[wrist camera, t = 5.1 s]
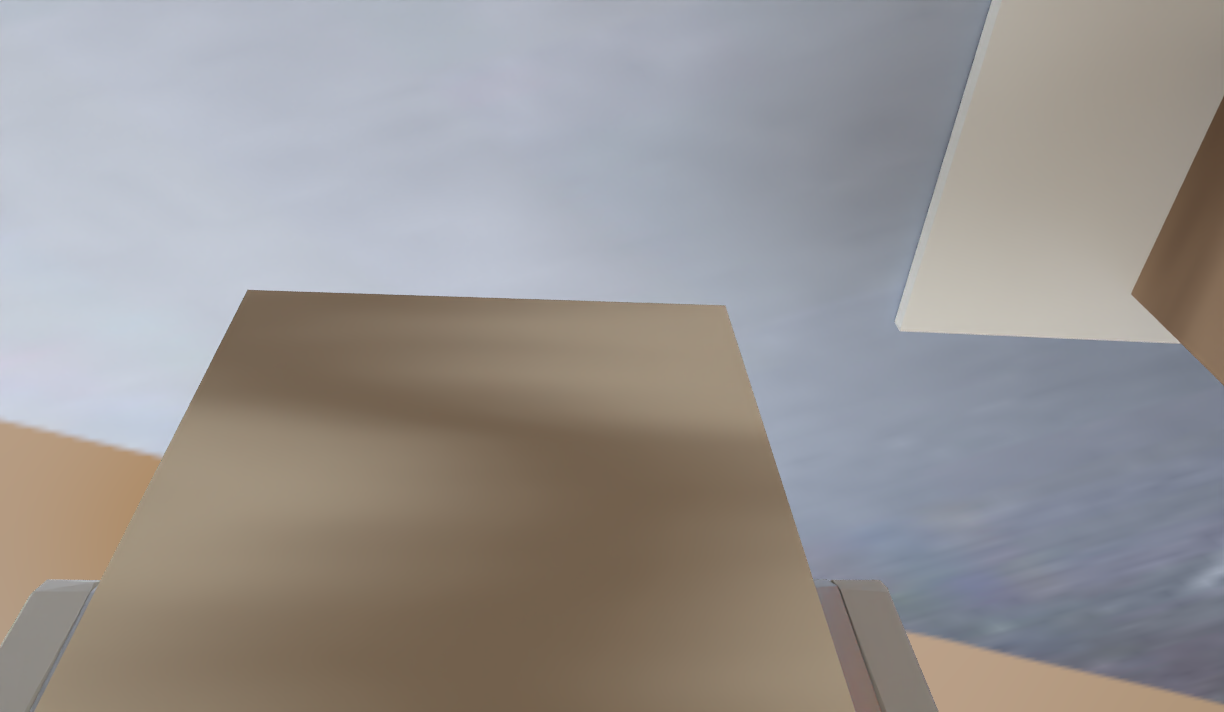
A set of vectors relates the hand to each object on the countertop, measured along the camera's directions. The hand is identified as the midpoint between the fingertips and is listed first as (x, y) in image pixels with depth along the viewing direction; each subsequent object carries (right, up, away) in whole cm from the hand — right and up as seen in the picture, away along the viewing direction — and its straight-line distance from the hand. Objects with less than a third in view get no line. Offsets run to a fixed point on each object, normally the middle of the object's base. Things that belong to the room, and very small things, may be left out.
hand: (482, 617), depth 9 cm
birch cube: (0, +1, +2) cm, 2 cm away
